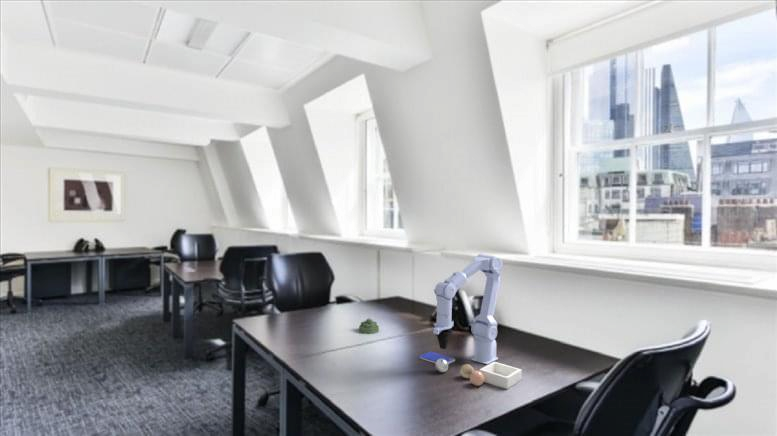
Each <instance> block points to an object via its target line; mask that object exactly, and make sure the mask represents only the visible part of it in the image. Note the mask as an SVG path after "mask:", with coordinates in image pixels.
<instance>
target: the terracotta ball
mask: <svg viewBox="0 0 777 436" xmlns="http://www.w3.org/2000/svg"><path fill="white" fill-rule="evenodd" d="M469 380H470V382H471V384H472V385H473V386H476V387H478V386H481V385H482V384H483V383H485V382H484V376H483V374H482V373H481V372H480V371H479V370H474V372H472V373H471V375H470V378H469Z"/></svg>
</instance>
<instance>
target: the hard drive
mask: <svg viewBox="0 0 777 436" xmlns="http://www.w3.org/2000/svg"><path fill="white" fill-rule="evenodd" d="M419 359H421V360H423V361H427V362H429V363H433V364H436V361H437V360H438V359H445V360H446V361H447V362H448V365H450V364H452V363H454V362H455V361H456V358H453V357H451V356H447V355H443V354H440V353H437V352H433V351H428V352H427V353H423V354H422V355H419Z"/></svg>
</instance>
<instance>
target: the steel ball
mask: <svg viewBox="0 0 777 436" xmlns="http://www.w3.org/2000/svg"><path fill="white" fill-rule="evenodd" d="M434 364H435V365H434V366H435V369H436V371H438V372H439V373H445V372H447V371H448V369H449V364H448V362H447V361H446V360H445V359H438V360H437V361H436V363H434Z"/></svg>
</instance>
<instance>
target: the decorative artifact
mask: <svg viewBox="0 0 777 436" xmlns="http://www.w3.org/2000/svg"><path fill="white" fill-rule="evenodd" d="M379 327H380V326H379V325H378V324H377V322H376V321H374V320H372V319H371V318H370V317H368V318H367V319H366V320H363V321H361V322H360V324H359V326H358V331H359V333H360V334H365V335H375V334H378V333H379V331H380V328H379Z"/></svg>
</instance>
